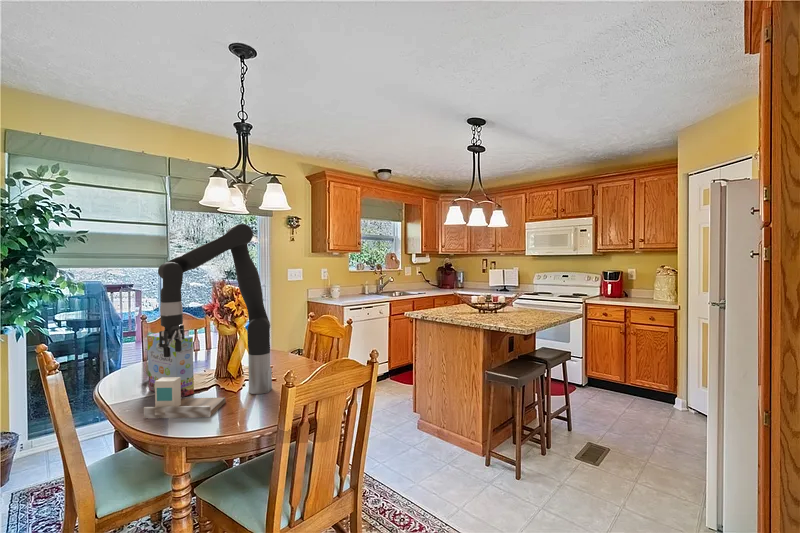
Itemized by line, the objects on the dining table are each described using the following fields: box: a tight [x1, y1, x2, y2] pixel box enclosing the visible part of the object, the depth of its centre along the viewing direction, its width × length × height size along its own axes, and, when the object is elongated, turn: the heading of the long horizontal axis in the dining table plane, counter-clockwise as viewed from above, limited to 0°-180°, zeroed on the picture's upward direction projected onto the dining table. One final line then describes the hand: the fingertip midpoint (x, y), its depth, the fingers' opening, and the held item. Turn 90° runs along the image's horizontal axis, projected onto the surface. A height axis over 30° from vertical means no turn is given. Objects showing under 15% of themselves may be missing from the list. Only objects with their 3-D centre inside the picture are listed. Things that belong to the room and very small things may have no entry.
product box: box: [154, 377, 181, 407], centre depth 150 cm, size 5×7×11 cm
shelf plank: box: [143, 397, 226, 419], centre depth 152 cm, size 24×15×4 cm, turn 93°
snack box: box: [146, 332, 195, 398], centre depth 172 cm, size 22×9×26 cm, turn 62°
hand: (172, 354), depth 152 cm, fingers open, 8 cm apart
